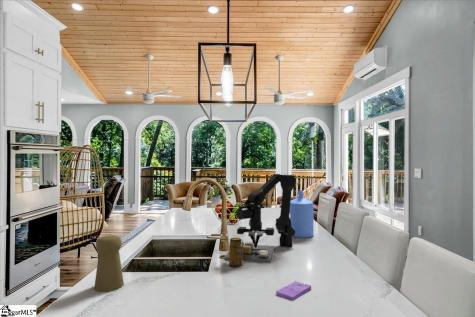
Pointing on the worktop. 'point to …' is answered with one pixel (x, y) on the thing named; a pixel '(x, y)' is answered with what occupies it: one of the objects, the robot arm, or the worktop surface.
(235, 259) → the condiment
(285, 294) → the sponges
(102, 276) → the cork
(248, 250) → the slider
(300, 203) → the water jug
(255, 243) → the robot arm
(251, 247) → the slider
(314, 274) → the worktop surface
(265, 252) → the button
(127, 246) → the worktop surface
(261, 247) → the panel
